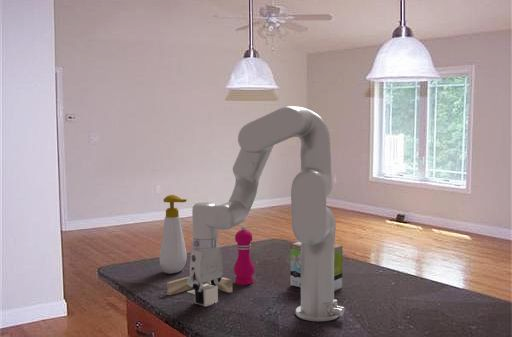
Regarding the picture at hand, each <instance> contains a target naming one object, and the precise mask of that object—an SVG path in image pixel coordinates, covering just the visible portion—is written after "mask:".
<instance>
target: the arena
mask: <svg viewBox="0 0 512 337" xmlns="http://www.w3.org/2000/svg"><path fill="white" fill-rule="evenodd" d="M189 276H190V275H189ZM189 276H185V277H183V278H178V279H174V280H171V281H168V282H166V294H167V296H173V295H177V294H179V293H183V292H186V293H187V294H189V295H190V294H191V295H193V296H195V290H193V288H192V287H191V286H190V285H188V284H187V283H186V282H187V280H188V278H189ZM194 281H195V280H193V282H194ZM204 284H210V281H208V282H204V283H203V285H204ZM210 285H211V284H210ZM198 286H199V283H198ZM218 289H219V290H218V291H222V292H226V293H233V279H231V278H228V277H224V276H223V277H222V278H221V280H220V282H219V286H218Z"/></svg>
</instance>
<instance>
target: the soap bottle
mask: <svg viewBox="0 0 512 337" xmlns="http://www.w3.org/2000/svg"><path fill="white" fill-rule="evenodd" d="M187 200H188V199H187V198H186V199H185V198H181V197H180V196H177V195H175V194H169V195H167V196H166V197H164V198H163V202H164V203H169V207H168V208H166V209H165V217H164V222H163V229H162V236H161V245H160V252H159V265H160V267H161V270H162V271H163V273H165V274H169V275H173V274H177V273H180V272H181V271H182V270H183V268H185V265H186V262H187V259H188V258H187V256H188V254H187V249H186V243H185V237H184V233H183V229H182V222H181V216H180V215H179V209H178V208H177V207H175V203H186V202H187Z"/></svg>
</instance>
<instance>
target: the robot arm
mask: <svg viewBox="0 0 512 337" xmlns="http://www.w3.org/2000/svg"><path fill="white" fill-rule="evenodd" d="M291 138H292V139H293V138H299V139H300V154H299V155H300V172H298V173H297V174H296V175H295V177H294V178H293V180H292V184H291V189H290V200H291V201H290V203H291V227H292V232H293V235H294V237H295V238H296V240H298V242H301V287H300V305H299V306H297V307H296V308H295V315H296V316H297V318H299V319H302V320H305V321H310V322H330V321H333V320H336V319H337V318H338V317H343V316H344V314H345V310H346V308H345V306H341V305H338V299H335V291H334V244H335V240H336V229H337V227H336V226H337V224H336V218H335V215H334V213H333V211H332V210H331V209H330V208H329V207H327V197H328V196H329V195H330V193H331V192H332V189H333V178H332V156H331V155H332V154H331V153H332V152H331V137H330V131H329V128H328V126H327V123H326V121H324V120H323V118H322V117H321V116H320V115H319V114H317V113H316V112H314V111H312V110H311V109H308V108H305V107H302V106H293V105H290V106H289V105H288V106H283V107H281V108H279V109H276V110H273V111H271V112H269V113H267V114H265V115H263V116H261V117H259V118H256V119H255V120H252V121H250V122H248V123H246V124H245V125H243V126H242V127H241V128H240V130H239V132H238V136H237V141H238V142H237V143H238V144H239V147H240V150H239V152H238V154H237V157H236V159H235V161H234V164H233V166H232V173H233V175H234V177H235V184H234V188H233V191H232V193H231V195H230V198H229V200H228V202H225V203H223V204H219V205H216V203H214V202H208V201H206V202H203V201H202V202H197V203H195V204H193V206H192V211H191V212H192V214H191V215H192V241H191V243H190V245H191V247H193V248H191V253H190V262H189V278H188V280H187V282H186V283H187V284H188V285H190V286H191V287H192V288H193V289H192V290H195V295H194V303H195V302H196V303H195V304H197V303H198V304H197V305H200V304H203V303H204V301H203V291H202V287H203V283H204V282H208V281H210V284H211V285H214V286H217V287H218V286H219V282H220V280H221V278H222V277H224V275H225V271H224V269H223V268H224V266H223V258H222V257H223V256H222V251H221V247H220V245H219V244H218V241H219V240H218V230H222V231H226V230H230V229H233V228H235V227H236V226H238V225H241V224H242V223H243V222H244V221H245V220H247V217H248V216H249V213H250V211H251V209H252V207H253V204H254V202H255V199H256V196H257V192H258V187H259V183H260V177H261V176H262V174H263V170H264V168H265V166H266V164H267V161H268V159H269V157H270V154H271V152H272V150H273V148H274V146H275V145H278V144H279V143H281V142H284V141H286V140H289V139H291ZM335 245H336V244H335ZM193 280H195V281H194V282H193ZM198 283H199V286H198Z"/></svg>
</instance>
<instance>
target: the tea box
mask: <svg viewBox="0 0 512 337" xmlns="http://www.w3.org/2000/svg"><path fill="white" fill-rule="evenodd" d="M289 251H290V252H289V253H290V260H289V261H290V263H289V264H290V265H289V266H290V268H289V271H290V274H289V276H290V286H293V287H298V288H301V242H300V241H297V242H294V243H290V250H289ZM341 288H343V245H339V244H334V292H335V291H337V290H340V289H341Z"/></svg>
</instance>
